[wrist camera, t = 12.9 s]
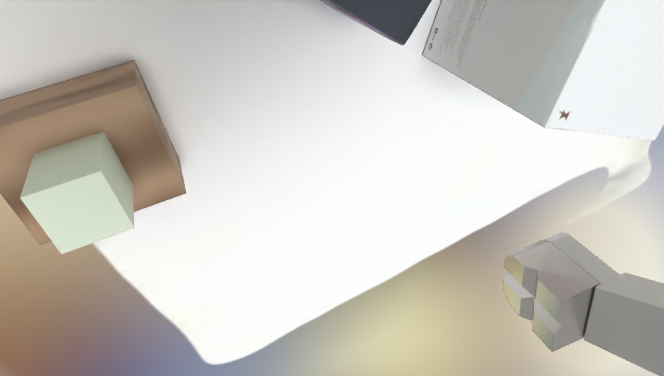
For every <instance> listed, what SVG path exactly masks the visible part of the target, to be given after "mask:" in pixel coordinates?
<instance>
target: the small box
mask: <svg viewBox="0 0 664 376" xmlns="http://www.w3.org/2000/svg"><path fill="white" fill-rule="evenodd" d="M321 1H322V2H324V3H326V4H327V5H329V6H330V7H332V8H334V9H335V10H337V11H339V12H341V13H342V14H344V15H346V16H348V17H349V18H351V19H353V20H355V21H356V22H358V23H360V24H362V25H364V26H366V27H367V28H369V29H371V30H373V31H375V32H377V33H378V34H380V35H382V36H384V37H386V38H388V39H390V40H392V41H394V42H396V43H398V44H400V45H404V44H405V43H406V41H407V40H408V38H409V37H410V35H411V34H412V32H413V30H414V29H415V27H416V26H417V24H418V22H419V21H420V19H421V17H422V15H423V14H424V12H425V11H426V9H427V7H428V6H429V4H430V2H431V1H432V0H321Z"/></svg>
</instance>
